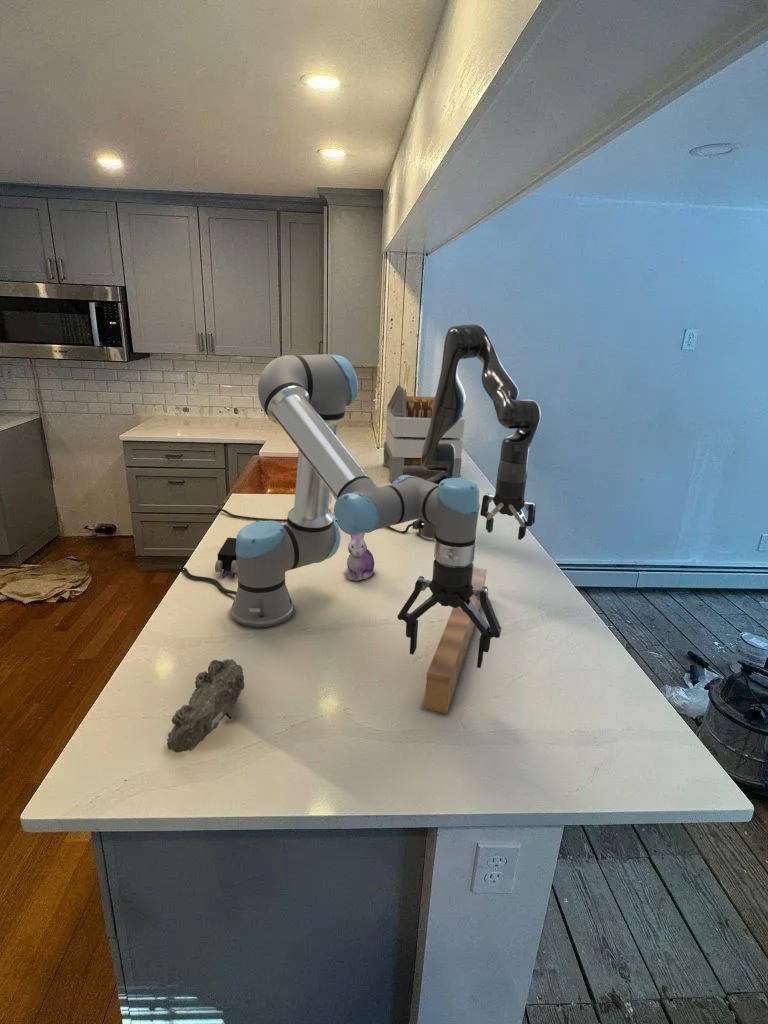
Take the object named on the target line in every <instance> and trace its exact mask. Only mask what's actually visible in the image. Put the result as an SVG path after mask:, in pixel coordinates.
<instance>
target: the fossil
mask: <svg viewBox="0 0 768 1024" xmlns="http://www.w3.org/2000/svg"><path fill="white" fill-rule="evenodd" d="M243 670H244V669H243V667H242V665H240V664H237V662H236V661H235V660H234V659H232V658H231V659H227V658H226V659H224V660H223V661H222V660H217V659H212V660H211V661H210V663H209V665H208V666H207V671H201V672H199V673H198V674H197V675H196V676H195V680H194V684H195V685H194V687H195V689H194V690H193V693H192V694H191V697H190V698H189V700H188V704H184V705H182V706H181V707H180V709H177V710H176V711H175V713H174V715H173V716H172V718H171V723H172V724H173V727H172V730H171V731H170V732H168V734H167V738H166V741H167V742H166V745H167V749H168V750H169V751H173V752H174V753H176V754H178V753H182V752H188V751H189V752H192V751H193V750H195V748H196V747H197V746H199V744H200V743H201V742H203V741H204V740H205V739H206V738H207V737H208V736H209V735H210V734H211V733H212V732H214V730H215V729H217V727H218V726H219V724H220V722H221V721H222V720H223V719H224V718H225V716H226V717H227V719H229V720H233V717H232V715H230V714H229V710H230V709H231V708H234V706H235V704H236V703H237V702H238V699H239V697H240V695H241V693H242V691H243V690H245V689H244V688H245V675H244V671H243Z"/></svg>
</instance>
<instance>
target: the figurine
mask: <svg viewBox="0 0 768 1024" xmlns="http://www.w3.org/2000/svg"><path fill="white" fill-rule="evenodd" d="M365 535H366V533H362V534H356V535H350V540H349V542H348V545H347V551H348V553H349V555H348V557H347V559H346V566H347V570H346V575H347V579H348V580H351V581H357V582H358V581H361V580H367V579H369V578H371V577H372V576H373V574H374V570H375V559H374V558H375V557H374V555H373V554H372V552H371V551H370V550H369V549H368V546H367V543H366V541H365Z"/></svg>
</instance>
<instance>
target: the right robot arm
mask: <svg viewBox="0 0 768 1024" xmlns="http://www.w3.org/2000/svg"><path fill="white" fill-rule="evenodd" d="M476 358H477V359H478V360H479V361H480V362H481V363H482V370H481V378H480V379H481V384H482V387H483V389H484V391H485V392H486V393H487V395H488V397H489V398H490V400H491V401H492V403H493V406H494V410H495V414H496V418H497V421H498V423H499V424H500V425H501V426H502V427H504V428H505V429H508V430H513V429H514V430H515V429H516V430H515V432H514V433H513V434H511V435H510V436H507V437H504V438H503V439H502V441H501V442H502V443H501V448H500V455H499V456H500V457H499V463H498V466H497V472H496V474H497V475H496V483H495V494H494V495H491V493H489V492H487V493H485V494H484V495H483V496H482V500H481V505H480V513H479V514H480V516H481V517H484V518H485V519H486V522H485V530H486V531H487V533H488V534H489V533H490V534H491V533H492V532H493V530H494V520H495V518H494V516H496V515H497V514H498V513H499V514H500V515H506V516H509V517H513V516H514V519H515V520H516V521H517V522H518V524H519V525H520V526H519V527H518V533H517V540H519V541H521V540H523V539H524V538H525V536H526V533H527V527H532V526H533V525H534V524H535V522H536V509H537V506H536V505H537V503H536V502H535V501H532V502H526V501H525V494H526V487H527V485H526V484H527V479H528V468H529V467H528V465H529V462H528V461H529V454H530V447H531V444H532V442H533V440H534V437H535V435H536V432H537V430H538V428H539V425H540V421H541V408H540V405H539V404H538V403H537V402H536V401H535V400H532V399H518V397H519V388H518V386H517V385H516V383H515V382H514V380H513V379H512V378H511V376H510V375H509V373H507V371H506V370H505V368H504V366H503V364H502V363H501V361H500V359H499V356H498V354H497V352H496V349H495V347H494V345H493V343H492V340H491V338H490V336H489V335H488V332H487V330H486V329H485V328H484V327H483V326H482V325H480V324H476V323H475V324H472V323H471V324H458V325H452V326H450V327H449V328H448V329H447V332H446V335H445V338H444V345H443V351H442V358H441V360H442V361H441V366H440V367H441V369H440V373H439V379H438V384H437V388H436V392H435V396H434V397H435V400H434V405H433V411H432V416H431V421H430V426H429V430H428V433H427V436H426V439H425V442H424V446H423V449H422V454H421V465H422V466H421V467H422V469H423V470H424V471H428V472H429V471H430V472H438V473H436V474H435V475H433V476H431V477H429V478H427V479H426V480H427V481H430V482H432V483H435V484H438V485H439V483H440V482H441V481H442V480H444V479H448V478H453V470H454V464H455V449H454V446H453V445H452V444H450V443H439V441H440V439H441V438H442V437H443V435H444V434H445V433H447V432H448V431H449V430H450V429H451V428H452V427H453V426H454V425H455V424H456V423H457V422H458V420H459V419H460V417H461V415H462V416H463V411H464V408H465V403H466V397H467V396H466V392H465V390H464V387H463V385H462V382H461V381H460V377H459V375H458V369H459V368H458V367H459V363H460V361H461V360H469V359H476ZM461 418H462V417H461ZM492 502H493V504H494V506H495V507H494V508H493V509H492V510H491V511H489V506H490V503H492ZM523 508H525V511H526V512H527V519H526V517H525V513H524V511H523V510H522V509H523ZM219 512H223V513H224V514H226V515H228V516H230V517H232V518H238V519H243V520H244V519H245V520H252V521H268V520H273V521H278V522H280V523H283V522H284V523H285V522H286V523H287V519H286V518H265V517H254V516H245V515H237V514H233V513H231V512H229V511H228V510H226V509H223V508H219V509H217V510H216V511H215V514H218V513H219ZM335 521H336V522H337V519H335ZM385 528H386V529H389V530H390V531H392V532H396V533H399V534H406V533H408V532H409V529H410V528H412V529H413V530H417V535H418V536H420V538H421V539H424V540H426V541H432V542H435V533H436V525H434V524H431V523H428V522H425V521H423V520H421V519H415V520H413V521H412V523H409V524H408V525H406V528H405V530H397V529H396V528H394V527H391V526H388V527H384V529H385Z"/></svg>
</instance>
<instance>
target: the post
mask: <svg viewBox="0 0 768 1024" xmlns="http://www.w3.org/2000/svg"><path fill="white" fill-rule="evenodd" d="M486 580H487V568H482V567H475V566H473V575H472V586H473V588H481V589H482V587H484V586H486ZM470 599H471V601H472V603H473V605H474V606H475V608H476V609H477V610H478V612H479V613H480V609H481V604H480V600H478V599H477V598H476V596H475V595H472V596H471V597H470ZM474 628H475V624H474V623H473V622H472V620H471V619H470V618H469V616H468V615H467V614H466V613H465V612H464V611H463V610H462V609H461V607H457V608H453V607H452V610H451V612H450V615H449V618H448V619H447V622H446V626H445V628H444V630H443V633H442V635H441V637H440V640H439V642H438V645H437V647H436V650H435V652H434V655H433V657H432V659H431V662H430V664H429V667H428V670H427V672H426V679H425V680H426V681H425V693H424V706H423V709H425V710H430V711H434V712H438V713H442V714H448V710H449V707H450V705H451V701H452V698H453V695H454V693H455V692H454V691H455V688H456V686H457V682H458V679H459V677H460V676H459V675H460V673H461V669H462V666H463V663H464V660H465V656H466V654H467V651H468V648H469V644H470V641H471V638H472V634H473V631H474Z"/></svg>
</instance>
